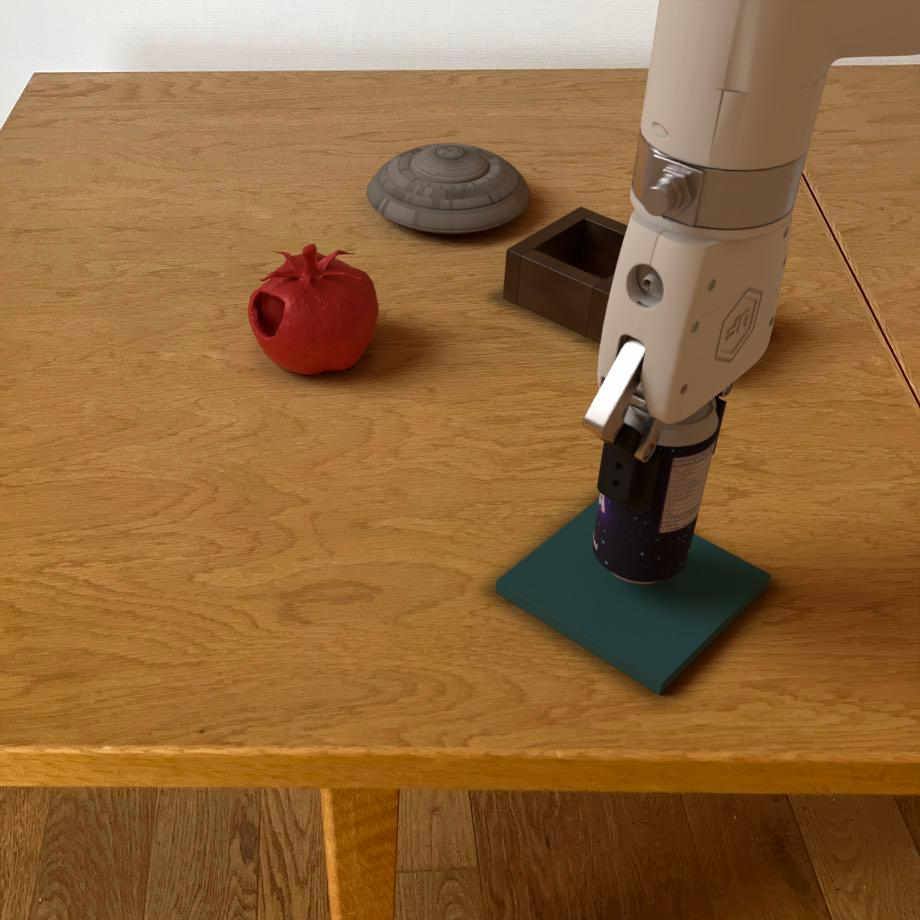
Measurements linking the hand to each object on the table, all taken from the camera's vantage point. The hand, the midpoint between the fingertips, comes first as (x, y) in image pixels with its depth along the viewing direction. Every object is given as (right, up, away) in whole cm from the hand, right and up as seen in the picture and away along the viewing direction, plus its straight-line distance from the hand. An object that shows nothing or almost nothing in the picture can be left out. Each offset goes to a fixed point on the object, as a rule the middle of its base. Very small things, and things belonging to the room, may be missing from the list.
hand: (656, 471), depth 68 cm
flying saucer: (-9, +27, +43) cm, 52 cm away
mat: (0, -7, +6) cm, 9 cm away
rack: (+5, +14, +29) cm, 33 cm away
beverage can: (0, -5, +5) cm, 7 cm away
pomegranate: (-21, +11, +26) cm, 35 cm away
